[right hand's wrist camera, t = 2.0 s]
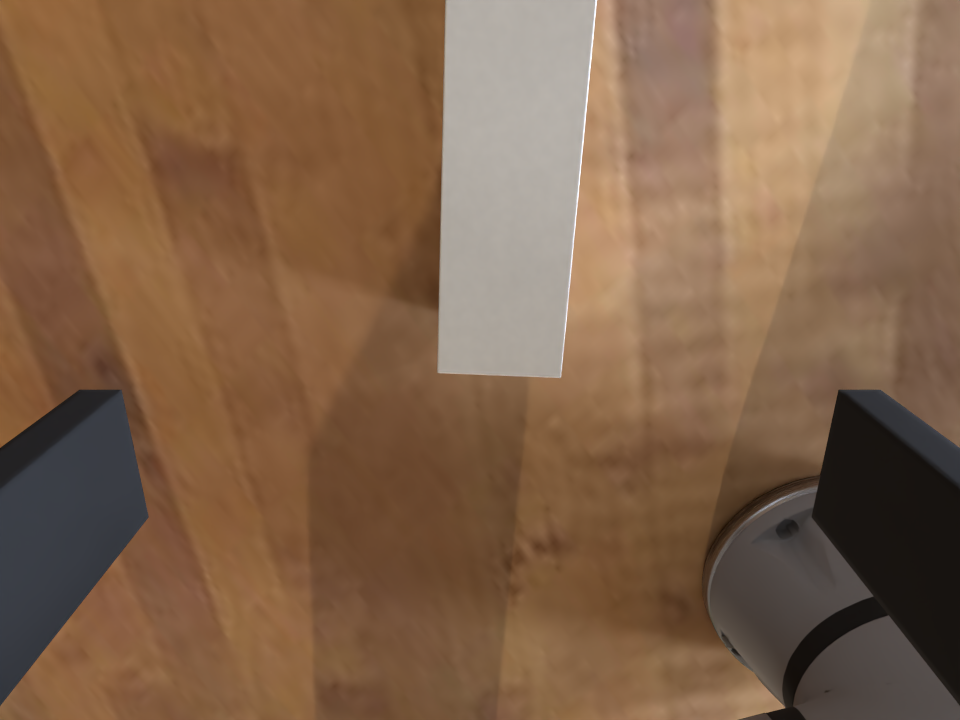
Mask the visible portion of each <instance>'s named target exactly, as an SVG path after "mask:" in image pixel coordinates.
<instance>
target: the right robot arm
mask: <svg viewBox="0 0 960 720" xmlns="http://www.w3.org/2000/svg"><path fill="white" fill-rule="evenodd" d="M147 519H148V512H147V507H146V503H145V498H144V493H143V488H142V484H141V479H140V474H139V470H138V465H137V460H136V456H135V451H134V446H133V442H132V437H131V432H130V428H129V423H128V418H127V414H126V409H125V404H124V400H123V395H122V390H79V391H77V392H76V393H75V394H73V395H72V396H70V397H69V398H68V399H66V400H65V401H64V402H62V403H61V404H60V405H58V406H57V407H55V408H54V409H53V410H51V411H50V412H49V413H47V414H46V415H45V416H43V417H42V418H40V419H39V420H38V421H36V422H35V423H34V424H32V425H31V426H30V427H28V428H27V429H26V430H24V431H23V432H21V433H20V434H19V435H17V436H16V437H15V438H13V439H12V440H11V441H9V442H8V443H6V444H5V445H4V446H2V447H1V448H0V705H1V704H2V703H3V702H4V700H5V699H6V698H7V696H8V695H9V694H10V693H11V691H12V690H13V689H14V688H15V686H16V685H17V684H18V682H19V681H20V680H21V679H22V677H23V676H24V675H25V674H26V672H27V671H28V670H29V669H30V667H31V666H32V665H33V663H34V662H35V661H36V660H37V658H38V657H39V656H40V655H41V653H42V652H43V651H44V649H45V648H46V647H47V646H48V644H49V643H50V642H51V641H52V639H53V638H54V637H55V635H56V634H57V633H58V632H59V630H60V629H61V628H62V627H63V625H64V624H65V623H66V622H67V620H68V619H69V618H70V616H71V615H72V614H73V613H74V611H75V610H76V609H77V608H78V606H79V605H80V604H81V602H82V601H83V600H84V599H85V597H86V596H87V595H88V594H89V592H90V591H91V590H92V588H93V587H94V586H95V585H96V583H97V582H98V581H99V580H100V578H101V577H102V576H103V574H104V573H105V572H106V571H107V569H108V568H109V567H110V566H111V564H112V563H113V562H114V561H115V559H116V558H117V557H118V555H119V554H120V553H121V552H122V550H123V549H124V548H125V547H126V545H127V544H128V543H129V541H130V540H131V539H132V538H133V536H134V535H135V534H136V533H137V531H138V530H139V529H140V527H141V526H142V525H143V524H144V522H145V521H146V520H147ZM702 593H703V599H704V604H705V607H706V609H707V612H708V615H709V617H710V619H711V621H712V624H713V626H714V628H715V630H716V632H717V634H718V636H719V637H720V639H721V640H722V641H723V643H724V644H725V646H726V647H727V648H728V650H729V651H730V652H731V653H732V654H733V655H734V656H735V658H736V659H738V660H739V661H740V662H741V663H742V664H743V665H744V666H745V667H747V668H748V669H749V670H751V671H753V672H754V673H755V674H756V676H757V677H758V679H759V680H760V681H761V682H762V684H763V685H764V686H765V687H766V688H767V689H768V690H769V691H770V692H771V693H772V694H773V695H774V696H775V697H776V698H777V699H778V700H779V701H780V702H781V703H782V704H783V705H784V706H785V709H781V710H777V711H773V712H769V713H762V714H758V715H755V716H751V717H747V718H743V719H739V720H960V448H959V447H958V446H956V445H955V444H954V443H952V442H951V441H949V440H948V439H947V438H945V437H944V436H943V435H941V434H940V433H939V432H937V431H936V430H934V429H933V428H932V427H930V426H929V425H928V424H926V423H925V422H924V421H922V420H921V419H920V418H918V417H917V416H915V415H914V414H913V413H911V412H910V411H909V410H907V409H906V408H905V407H903V406H902V405H900V404H899V403H898V402H896V401H895V400H894V399H892V398H891V397H890V396H888V395H887V394H885V393H884V392H883V391H881V390H838V395H837V400H836V404H835V409H834V414H833V418H832V423H831V428H830V432H829V437H828V442H827V446H826V451H825V456H824V460H823V465H822V470H821V474H820V476H816V477H810V478H806V479H802V480H798V481H795V482H792V483H789V484H786V485H783V486H781V487H779V488H776V489H774V490H772V491H770V492H768V493H766V494H764V495H763V496H761V497H759V498H758V499H756V500H754V501H753V502H752V503H750V504H749V505H748V506H746V507H745V508H744V509H742V510H741V511H740V512H739V513H738V514H737V515H736V516H734V518H733V519H732V520H731V521H730V522H729V523H728V524H727V525H726V526H725V527H724V529H723V530H722V531H721V532H720V534H719V535H718V537H717V539H716V540H715V542H714V544H713V545H712V547H711V549H710V551H709V554H708V556H707V559H706V562H705V566H704V570H703V577H702Z"/></svg>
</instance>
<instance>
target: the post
mask: <svg viewBox="0 0 960 720" xmlns="http://www.w3.org/2000/svg"><path fill="white" fill-rule="evenodd" d="M596 3H597V0H445V37H444V83H443V129H442V175H441V221H440V268H439V314H438V360H437V372H438V373H451V374H476V375H501V376H526V377H551V378H561V371H562V361H563V350H564V340H565V329H566V319H567V308H568V298H569V287H570V277H571V266H572V255H573V245H574V234H575V224H576V213H577V203H578V192H579V182H580V171H581V161H582V150H583V140H584V129H585V118H586V108H587V97H588V87H589V76H590V66H591V55H592V45H593V34H594V24H595V13H596Z"/></svg>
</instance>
